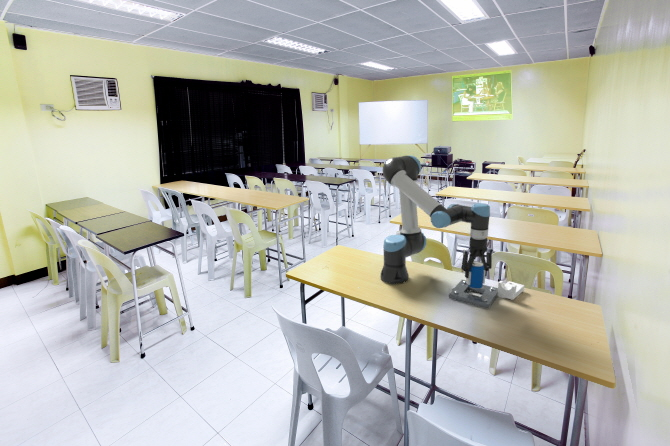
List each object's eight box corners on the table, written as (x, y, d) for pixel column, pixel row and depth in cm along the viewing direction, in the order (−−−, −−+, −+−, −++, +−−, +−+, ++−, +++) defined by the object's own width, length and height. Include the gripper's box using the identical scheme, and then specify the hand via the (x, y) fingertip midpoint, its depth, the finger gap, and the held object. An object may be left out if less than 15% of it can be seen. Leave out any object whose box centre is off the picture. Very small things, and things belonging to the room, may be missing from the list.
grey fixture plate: (448, 298, 163) (449, 292, 162) (461, 283, 176) (462, 278, 176) (488, 309, 152) (489, 303, 151) (499, 293, 166) (499, 287, 165)
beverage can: (471, 282, 167) (473, 259, 164) (484, 286, 163) (486, 263, 159) (465, 287, 163) (467, 264, 160) (478, 291, 158) (480, 267, 155)
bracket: (512, 301, 158) (514, 287, 156) (497, 296, 163) (498, 282, 161) (523, 292, 166) (525, 277, 164) (508, 287, 171) (509, 273, 169)
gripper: (462, 241, 151) (459, 288, 158) (503, 238, 153) (498, 284, 160) (454, 236, 159) (452, 281, 165) (494, 233, 161) (490, 277, 167)
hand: (475, 283), depth 162 cm, fingers closed on beverage can, 6 cm apart
